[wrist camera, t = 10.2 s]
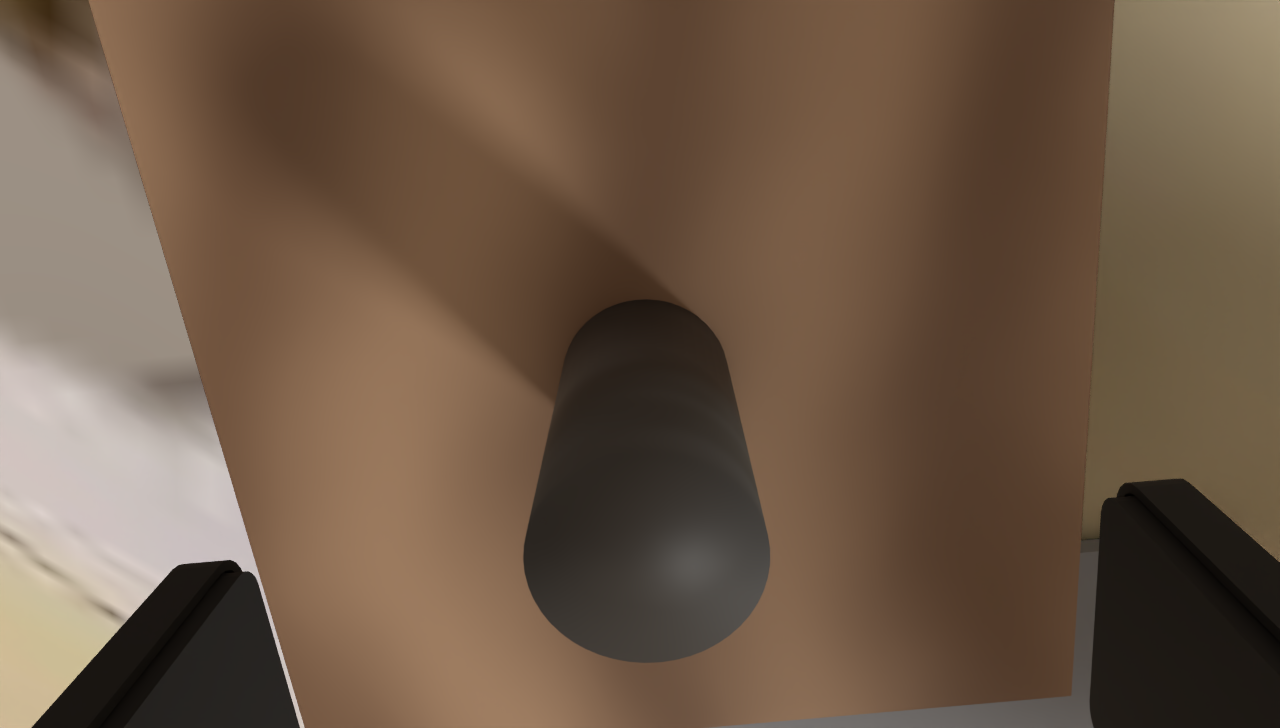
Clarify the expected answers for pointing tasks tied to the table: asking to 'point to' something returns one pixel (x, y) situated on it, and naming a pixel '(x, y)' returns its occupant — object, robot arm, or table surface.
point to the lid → (639, 342)
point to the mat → (1011, 724)
